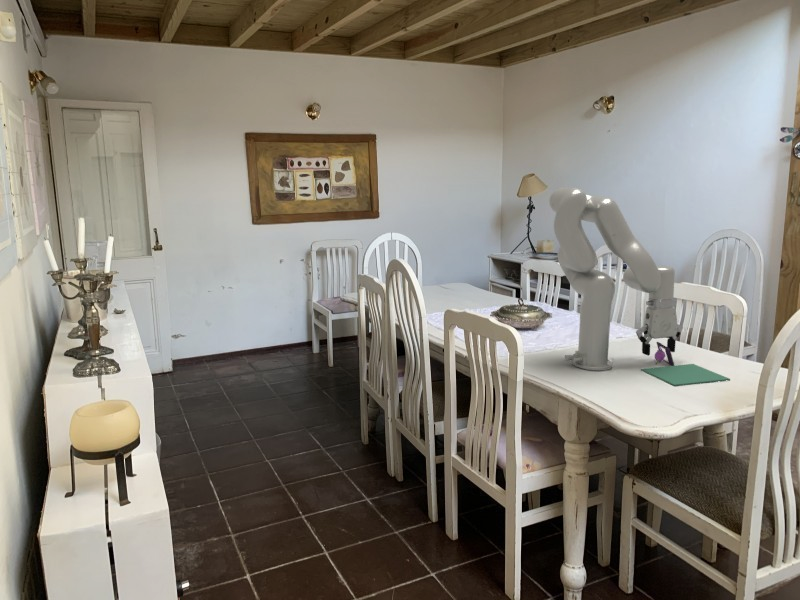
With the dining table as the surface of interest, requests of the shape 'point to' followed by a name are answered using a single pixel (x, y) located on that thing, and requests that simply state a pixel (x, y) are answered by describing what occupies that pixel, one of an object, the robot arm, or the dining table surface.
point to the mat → (684, 374)
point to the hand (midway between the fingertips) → (658, 352)
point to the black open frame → (663, 354)
